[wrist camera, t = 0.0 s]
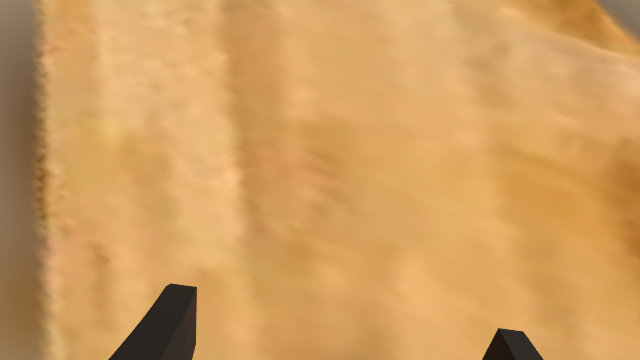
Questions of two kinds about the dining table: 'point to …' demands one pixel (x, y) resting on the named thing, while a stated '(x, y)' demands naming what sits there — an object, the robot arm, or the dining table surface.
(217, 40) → the dining table surface
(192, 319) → the robot arm
